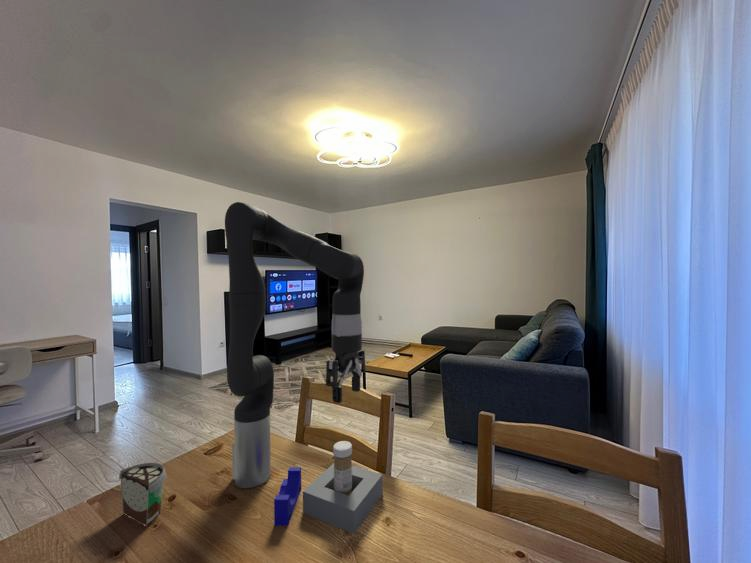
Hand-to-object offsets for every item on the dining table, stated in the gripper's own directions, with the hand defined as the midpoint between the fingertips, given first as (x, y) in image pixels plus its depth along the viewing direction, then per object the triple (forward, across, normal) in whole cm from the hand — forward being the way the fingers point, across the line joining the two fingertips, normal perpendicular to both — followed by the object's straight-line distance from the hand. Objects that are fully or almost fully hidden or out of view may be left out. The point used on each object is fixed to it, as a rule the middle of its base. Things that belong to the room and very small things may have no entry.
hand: (347, 396), depth 78 cm
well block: (+25, +2, 0) cm, 25 cm away
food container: (+26, +26, -39) cm, 53 cm away
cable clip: (+26, +9, -12) cm, 30 cm away
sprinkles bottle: (+25, +2, 0) cm, 25 cm away
